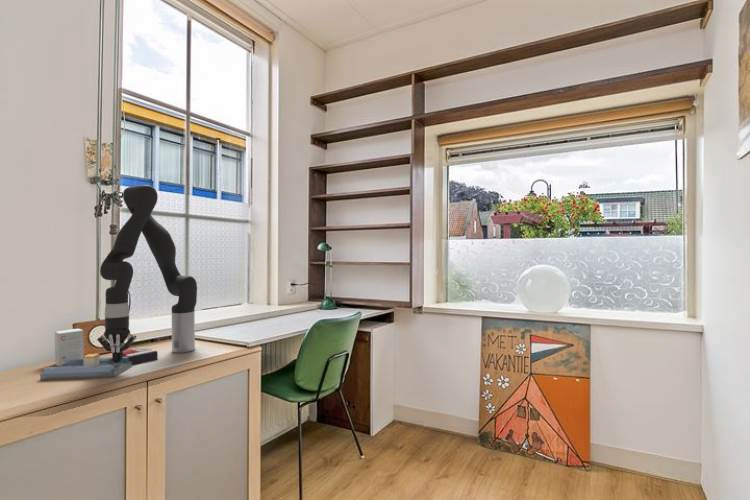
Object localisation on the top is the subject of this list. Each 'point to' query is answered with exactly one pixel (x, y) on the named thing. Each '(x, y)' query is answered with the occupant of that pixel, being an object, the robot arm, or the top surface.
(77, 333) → the small box
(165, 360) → the top surface
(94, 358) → the breaker toggle
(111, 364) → the panel
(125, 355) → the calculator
